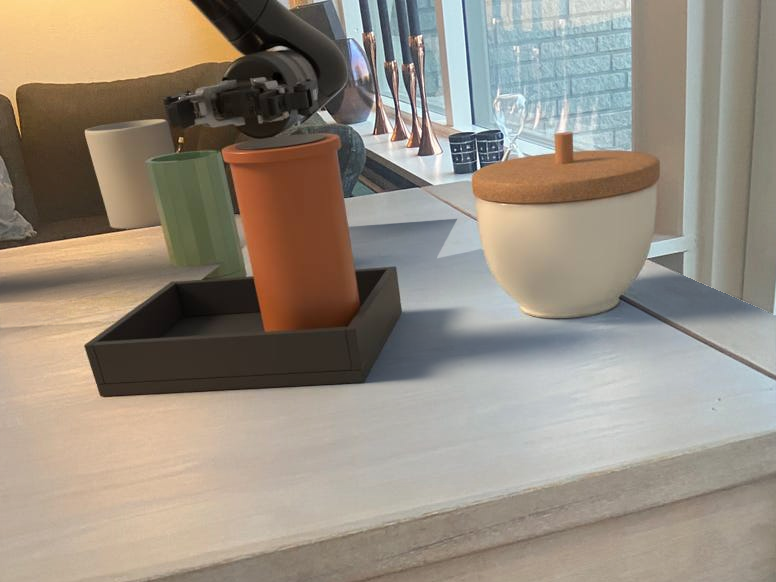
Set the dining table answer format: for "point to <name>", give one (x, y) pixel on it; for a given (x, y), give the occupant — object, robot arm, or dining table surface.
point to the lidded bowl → (567, 226)
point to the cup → (197, 211)
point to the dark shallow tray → (237, 340)
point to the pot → (296, 230)
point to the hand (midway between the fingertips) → (220, 112)
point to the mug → (128, 168)
